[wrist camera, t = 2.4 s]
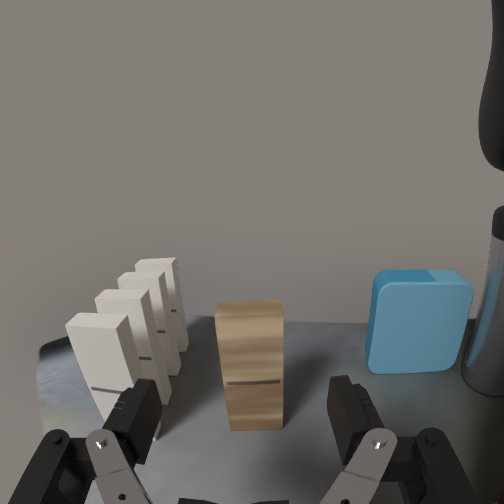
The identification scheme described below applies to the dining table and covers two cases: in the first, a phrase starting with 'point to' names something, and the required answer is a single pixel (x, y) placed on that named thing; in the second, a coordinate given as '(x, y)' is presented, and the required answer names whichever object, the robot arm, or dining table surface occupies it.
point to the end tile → (170, 294)
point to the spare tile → (252, 363)
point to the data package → (416, 320)
